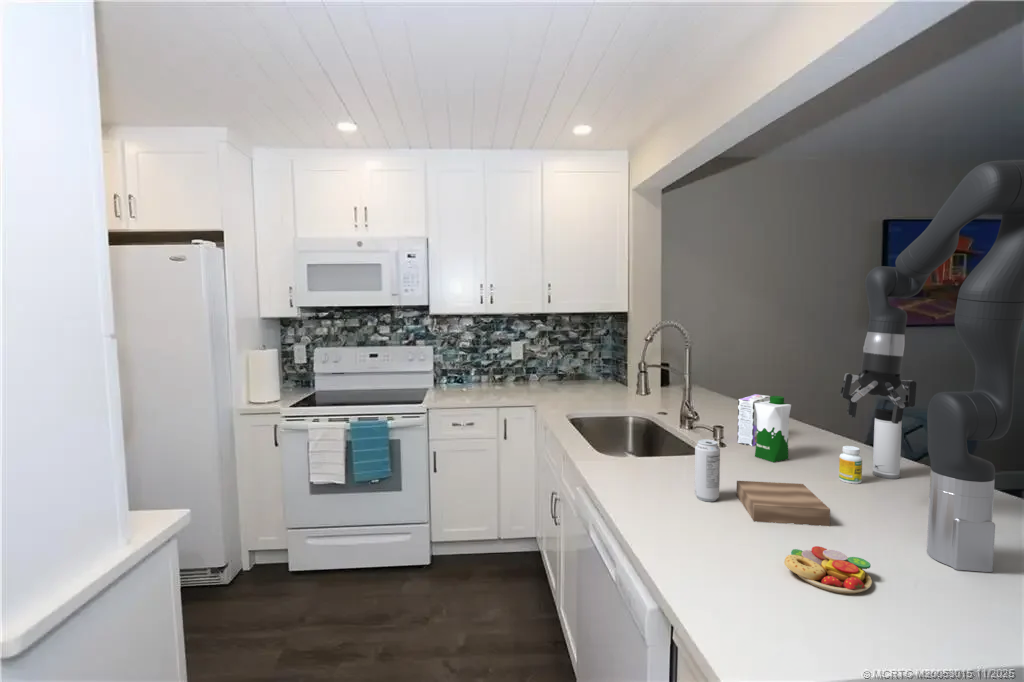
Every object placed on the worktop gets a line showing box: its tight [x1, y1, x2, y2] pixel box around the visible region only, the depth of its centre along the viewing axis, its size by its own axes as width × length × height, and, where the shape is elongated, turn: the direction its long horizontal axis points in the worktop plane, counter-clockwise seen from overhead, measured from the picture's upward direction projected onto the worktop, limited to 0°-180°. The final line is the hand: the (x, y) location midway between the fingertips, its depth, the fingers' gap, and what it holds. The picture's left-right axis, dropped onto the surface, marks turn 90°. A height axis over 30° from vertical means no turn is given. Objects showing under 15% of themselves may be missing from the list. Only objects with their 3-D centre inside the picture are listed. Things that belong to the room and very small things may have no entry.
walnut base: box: [735, 480, 831, 527], centre depth 122 cm, size 16×16×4 cm
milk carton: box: [754, 395, 792, 463], centre depth 161 cm, size 9×9×20 cm
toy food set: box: [783, 545, 873, 595], centre depth 93 cm, size 13×13×3 cm
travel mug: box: [872, 408, 903, 480], centre depth 143 cm, size 6×7×20 cm
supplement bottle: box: [838, 445, 863, 485], centre depth 140 cm, size 5×5×10 cm
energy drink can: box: [694, 438, 721, 503], centre depth 129 cm, size 6×6×15 cm
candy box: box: [736, 393, 771, 447], centre depth 181 cm, size 14×6×16 cm, turn 130°
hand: (873, 420), depth 118 cm, fingers open, 8 cm apart
